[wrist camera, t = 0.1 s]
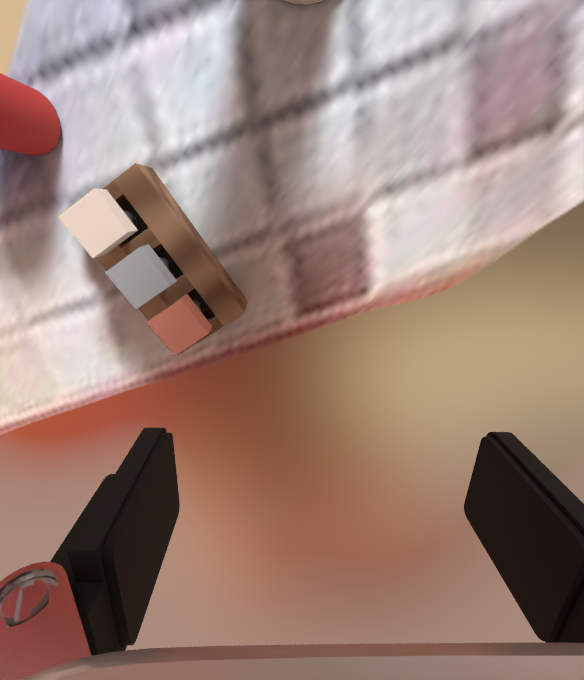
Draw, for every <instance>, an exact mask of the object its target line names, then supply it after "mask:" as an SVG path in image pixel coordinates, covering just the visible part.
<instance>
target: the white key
mask: <svg viewBox="0 0 584 680" xmlns="http://www.w3.org/2000/svg"><path fill="white" fill-rule="evenodd" d="M58 218H59V219H60V220H61V221H62V222H63V224H64V225H65V226H66V227H67V228H68V230H69V231H70V232H71V233H72V234H73V235H74V237H75V238H76V239H77V240H78V241H79V243H80V244H81V245H82V246H83V247H84V249H85V250H86V251H87V252H88V253H89V254H90V256H91V257H92V258H96V257H99V256H103V255H105V254H107V253H108V252H109V251H111V250H112V249H113V248H115V247H116V246H117V245H119V244H120V243H122V242H123V241H124V240H126V239H127V238H128V237H130V236H131V235H132V234H134V233H135V232H136V231H138V230H137V228H136V224H137V221H136V218H135V216H134V215H133V214H132V213H131V212H129V211H123V210H122V209H121V208H120V206H119V205H118V204H117V202H116V201H115V200H114V198H113V197H112V196H111V195H110V193H109V192H108V191H107V190H106V189H95V188H94V189H93V190H92V191H90V192H89V193H88V194H86V195H85V196H84V197H83V198H81V199H80V200H79V201H78V202H76V203H75V204H74V205H73V206H71V207H70V208H69V209H67V210H66V211H65V212H64V213H62V214H61V215H60V216H59V217H58Z"/></svg>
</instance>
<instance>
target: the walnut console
mask: <svg viewBox="0 0 584 680" xmlns="http://www.w3.org/2000/svg"><path fill="white" fill-rule="evenodd" d="M103 189H106V190H107V191H108V192H109V193H110V195H111V196H112V197H113V198H114V200H115V201H116V202H117V204H118V205H119V206H120V208H121V209H123V208H125V207H126V206H127V205H129V204H130V203H131V205H132V206H133V207H134V209H135V210H136V211H137V213H138V214H139V215H140V217H141V218H142V219H143V221H144V222H145V223H146V225H147V226H148V228H147V229H146V230H144V231H143V232H142V233H140V234H139V235H138V236H136V237H135V238H133V237H132V235H131V236H130V237H128V238H127V239H126V240H124V241H123V242H122V243H120V244H119V245H117V246H116V247H115V248H113V249H112V250H111V251H109V252H108V253H107V254H105V255H103V256H99V257H96V258H97V259H98V261H99V262H100V263H101V264H102V265H103V267H104V268H105V269H106V270H107V271H108V270H109V269H110V268H112V267H113V266H114V265H116V264H117V263H119V262H120V261H121V260H123V259H124V258H125V257H127V256H128V255H129V254H131V253H132V252H134V251H135V250H136V249H138V248H139V247H141V246H145V245H148V244H149V245H150V246H151V248H152V249H153V250H154V252H157V251H158V250H159V249H161V248H162V247H164V248H165V250H166V251H167V252H168V254H169V255H170V256H171V258H172V259H173V260H174V261H175V263H176V264H177V265H178V267H179V268H180V269H181V271H182V272H183V273H184V274H183V275H181V276H180V277H178V278H177V279H176V280H177V281H176V282H175V283H173V284H172V285H171V286H169V287H168V288H166V289H165V290H163V291H162V292H161V293H159V294H158V295H156V296H155V297H153V298H152V299H150V300H149V301H148V302H146V303H145V304H143V305H142V306H140V307H139V310H140V311H141V312H142V313H143V314H144V316H145V317H146V318H147V319H148V320H150V319H151V318H152V317H153V316H155V315H156V314H157V313H159V312H160V311H162V310H163V309H165V308H166V307H168V306H169V305H171V304H172V303H174V302H175V301H177V300H178V299H180V298H181V297H182V296H184V295H185V294H187V293H189V292H190V291H192V290H193V289H194V288H195V289H196V290H197V292H198V293H199V294H200V296H201V297H202V298H203V300H204V301H205V302H206V304H207V305H208V306H209V308H210V309H211V310H212V312H211V313H210V314H208V315H206V316H205V318H206V319H207V320H208V322H209V323H210V324H211V325H212V328H211V330H210V332H209V333H208V334H207V335H206V336H204V337H203V338H201V339H200V340H198V341H197V342H195V343H194V344H192V345H190V346H189V347H187V348H186V349H184V350H183V351H181V352H180V353H178V354H177V355H179V354H181V353H182V352H184V351H185V350H187V349H189V348H190V347H192V346H193V345H195V344H196V343H198V342H199V341H201V340H202V339H204V338H206V337H207V336H209V335H210V334H212V333H213V332H215V331H216V330H218V329H220V328H221V327H223V326H224V325H226V324H227V323H229V322H230V321H232V320H233V319H235V318H237V317H238V316H240V315H241V314H243V313H244V311H245V308H246V305H247V301H246V299H245V298H244V296H243V295H242V294H241V292H240V291H239V289H238V288H237V287H236V285H235V284H234V282H233V281H232V280H231V278H230V277H229V275H228V274H227V273H226V271H225V270H224V268H223V267H222V266H221V264H220V263H219V261H218V260H217V259H216V257H215V256H214V254H213V253H212V252H211V250H210V249H209V247H208V246H207V244H206V243H205V242H204V240H203V239H202V237H201V236H200V235H199V233H198V232H197V230H196V229H195V228H194V226H193V225H192V223H191V222H190V221H189V219H188V218H187V216H186V215H185V214H184V212H183V211H182V209H181V208H180V207H179V205H178V204H177V202H176V201H175V200H174V198H173V197H172V195H171V194H170V193H169V191H168V190H167V188H166V187H165V186H164V184H163V183H162V181H161V180H160V179H159V177H158V176H157V174H156V173H155V172H154V170H153V169H152V168H150V167H146V166H143V165H139V164H136V163H135V164H134V165H133V166H131V167H130V168H129V169H128V170H126V171H125V172H124V173H123V174H121V175H120V176H119V177H117V178H116V179H115V180H114V181H112V182H111V183H110V184H109V185H107V186H106V187H105V188H103Z"/></svg>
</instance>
